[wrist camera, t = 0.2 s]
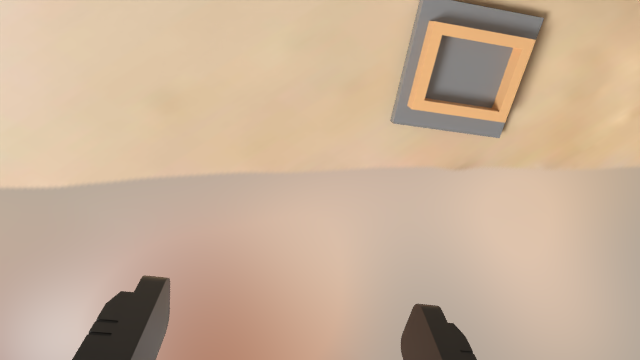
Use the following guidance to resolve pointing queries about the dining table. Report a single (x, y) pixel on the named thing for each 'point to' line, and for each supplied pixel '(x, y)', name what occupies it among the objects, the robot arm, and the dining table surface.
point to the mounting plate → (463, 67)
